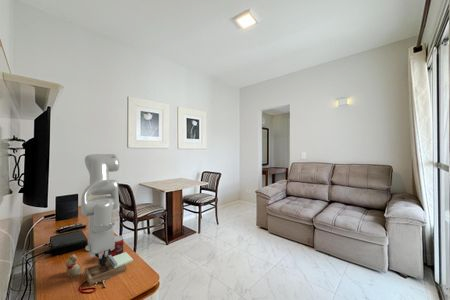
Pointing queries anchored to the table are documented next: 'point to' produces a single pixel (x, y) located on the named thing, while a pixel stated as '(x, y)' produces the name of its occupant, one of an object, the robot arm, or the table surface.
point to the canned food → (117, 246)
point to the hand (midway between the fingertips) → (102, 264)
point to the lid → (119, 259)
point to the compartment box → (102, 272)
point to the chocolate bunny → (73, 267)
